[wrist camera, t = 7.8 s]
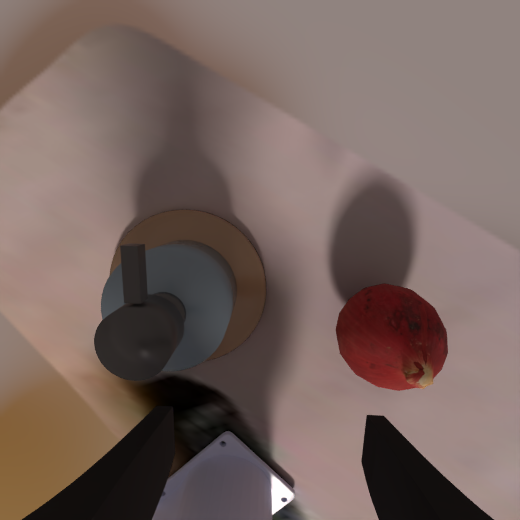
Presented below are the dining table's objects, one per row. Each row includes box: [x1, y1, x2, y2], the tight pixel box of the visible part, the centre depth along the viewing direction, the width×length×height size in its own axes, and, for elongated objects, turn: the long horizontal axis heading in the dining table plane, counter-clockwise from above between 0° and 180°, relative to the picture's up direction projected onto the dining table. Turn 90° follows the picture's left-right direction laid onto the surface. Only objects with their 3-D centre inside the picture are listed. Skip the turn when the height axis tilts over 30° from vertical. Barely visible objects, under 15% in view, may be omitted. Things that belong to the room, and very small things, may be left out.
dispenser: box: [101, 210, 266, 371], centre depth 18 cm, size 11×11×6 cm
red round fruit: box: [336, 284, 448, 391], centre depth 16 cm, size 6×6×8 cm
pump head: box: [94, 243, 184, 381], centre depth 13 cm, size 5×5×3 cm
